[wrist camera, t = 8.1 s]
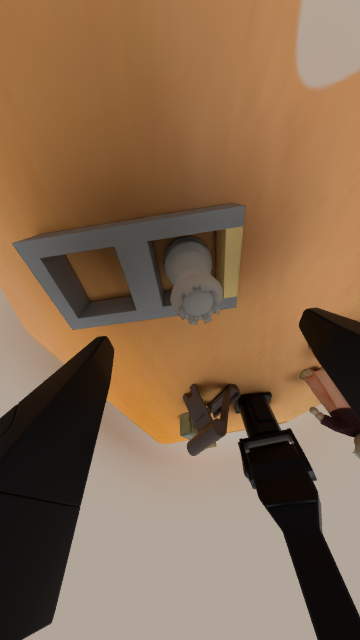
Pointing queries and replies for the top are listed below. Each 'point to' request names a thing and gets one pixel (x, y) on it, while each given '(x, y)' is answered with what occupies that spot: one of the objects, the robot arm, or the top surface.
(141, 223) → the rail
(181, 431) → the medication box
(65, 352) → the top surface
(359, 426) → the grandmother figurine
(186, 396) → the portable electronic device stand
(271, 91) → the top surface
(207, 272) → the rook chess piece
